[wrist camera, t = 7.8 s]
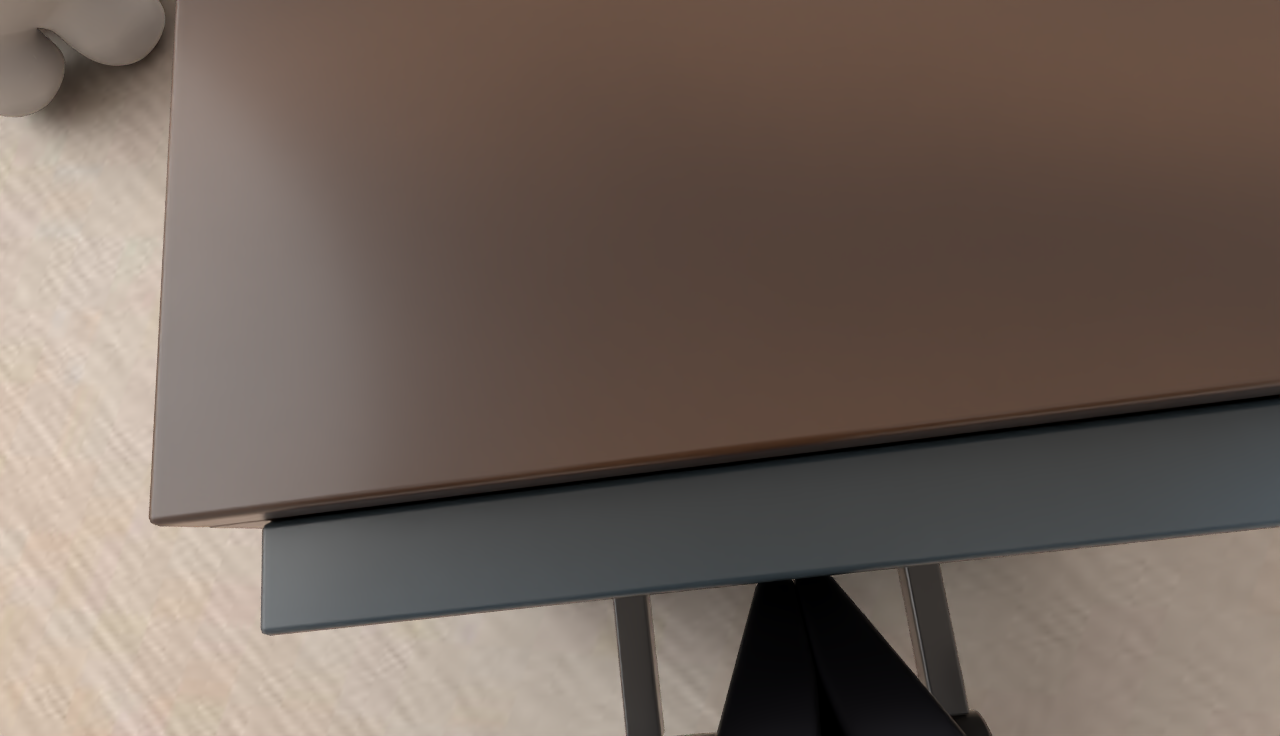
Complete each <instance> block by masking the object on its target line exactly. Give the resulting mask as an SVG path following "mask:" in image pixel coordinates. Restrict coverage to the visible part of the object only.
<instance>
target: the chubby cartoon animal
mask: <svg viewBox="0 0 1280 736" xmlns="http://www.w3.org/2000/svg"><path fill="white" fill-rule="evenodd" d="M164 26H165V12H164V9H163V7H162V5H161V3H160V1H159V0H0V116H5V117H22V116H26V115H30V114H33V113H35V112H37V111H39V110H41V109H43V108H44V107H45V106H47V105H48V104H49V103H50V102H51V101H52V99H53V98H54V97H55V95H56V93H57V92H58V90H59V88H60V86H61V83H62V80H63V76H64V71H65V60H64V57H63V54H62V52H61V51H60V50H59V48H58V47H57V46H56V45H55V44H54V43H53V42H52V41H51V40H50V39H49V38H47V37H46V36H45V35H44V34H43V33H41V32H40V31H39V30H38V29H37V28H45V29H48V30H51V31H53V32H54V33H56V34H57V35H58V36H60V37H61V38H62V39H63V40H64V41H65V42H66V43H67V44H69V45H70V46H71V47H72V48H73V49H75V50H76V51H77V52H79V53H80V54H82V55H83V56H85V57H87V58H89V59H91V60H93V61H95V62H98V63H101V64H105V65H112V66H122V65H129V64H132V63H135V62H137V61H140V60H141V59H143V58H144V57H145V56H146V55H148V54H149V53H150V52H151V50H152V49H153V48H154V47H155V45H156V44H157V42H158V41H159V39H160V37H161V35H162V33H163V29H164Z"/></svg>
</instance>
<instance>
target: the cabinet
mask: <svg viewBox="0 0 1280 736" xmlns="http://www.w3.org/2000/svg"><path fill="white" fill-rule="evenodd" d="M1279 397H1280V0H176V12H175V31H174V50H173V69H172V88H171V107H170V126H169V145H168V164H167V183H166V202H165V221H164V240H163V259H162V278H161V297H160V316H159V336H158V355H157V374H156V393H155V412H154V431H153V450H152V469H151V488H150V507H149V519H150V522H151V523H152V524H155V525H158V526H169V527H210V528H256V529H263V527H264V525H266V524H267V523H269V522H271V521H278V520H286V519H294V518H303V517H311V516H319V515H327V514H335V513H343V512H351V511H360V510H368V509H376V508H384V507H392V506H400V505H408V504H416V503H425V502H433V501H441V500H449V499H457V498H465V497H473V496H482V495H490V494H498V493H506V492H514V491H522V490H530V489H538V488H547V487H555V486H563V485H571V484H579V483H587V482H595V481H604V480H612V479H620V478H628V477H636V476H644V475H652V474H660V473H669V472H677V471H685V470H693V469H701V468H709V467H717V466H725V465H734V464H742V463H750V462H758V461H766V460H774V459H782V458H791V457H799V456H807V455H815V454H823V453H831V452H839V451H847V450H856V449H864V448H872V447H880V446H888V445H896V444H904V443H913V442H921V441H929V440H937V439H945V438H953V437H961V436H969V435H978V434H986V433H994V432H1002V431H1010V430H1018V429H1026V428H1035V427H1043V426H1051V425H1059V424H1067V423H1075V422H1083V421H1091V420H1100V419H1108V418H1116V417H1124V416H1132V415H1140V414H1148V413H1157V412H1165V411H1173V410H1181V409H1189V408H1197V407H1205V406H1213V405H1222V404H1230V403H1238V402H1246V401H1254V400H1262V399H1270V398H1279Z"/></svg>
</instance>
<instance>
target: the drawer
mask: <svg viewBox="0 0 1280 736" xmlns="http://www.w3.org/2000/svg"><path fill="white" fill-rule="evenodd" d="M1274 527H1280V397H1279V398H1270V399H1262V400H1254V401H1246V402H1238V403H1230V404H1222V405H1213V406H1205V407H1197V408H1189V409H1181V410H1173V411H1165V412H1157V413H1148V414H1140V415H1132V416H1124V417H1116V418H1108V419H1100V420H1091V421H1083V422H1075V423H1067V424H1059V425H1051V426H1043V427H1035V428H1026V429H1018V430H1010V431H1002V432H994V433H986V434H978V435H969V436H961V437H953V438H945V439H937V440H929V441H921V442H913V443H904V444H896V445H888V446H880V447H872V448H864V449H856V450H847V451H839V452H831V453H823V454H815V455H807V456H799V457H791V458H782V459H774V460H766V461H758V462H750V463H742V464H734V465H725V466H717V467H709V468H701V469H693V470H685V471H677V472H669V473H660V474H652V475H644V476H636V477H628V478H620V479H612V480H604V481H595V482H587V483H579V484H571V485H563V486H555V487H547V488H538V489H530V490H522V491H514V492H506V493H498V494H490V495H482V496H473V497H465V498H457V499H449V500H441V501H433V502H425V503H416V504H408V505H400V506H392V507H384V508H376V509H368V510H360V511H351V512H343V513H335V514H327V515H319V516H311V517H303V518H294V519H286V520H278V521H271V522H269V523H267V524H266V525H264V527H263V530H262V583H261V630H262V633H264V634H267V635H270V636H271V635H280V634H290V633H299V632H308V631H318V630H327V629H336V628H345V627H355V626H364V625H373V624H383V623H392V622H401V621H411V620H420V619H429V618H438V617H448V616H457V615H466V614H476V613H485V612H494V611H503V610H513V609H522V608H531V607H541V606H550V605H559V604H568V603H578V602H587V601H596V600H606V599H613V605H614V615H615V626H616V636H617V646H618V657H619V667H620V677H621V688H622V698H623V708H624V719H625V729H626V736H663V734H664V731H665V730H664V721H663V712H662V703H661V693H660V684H659V675H658V666H657V657H656V647H655V638H654V629H653V620H652V611H651V601H650V595H652V594H661V593H671V592H680V591H689V590H698V589H708V588H717V587H726V586H736V585H745V584H754V583H763V582H773V581H782V580H791V579H801V578H810V577H819V576H828V575H838V574H847V573H856V572H866V571H875V570H884V569H893V568H898V573H899V578H900V583H901V589H902V594H903V599H904V605H905V610H906V615H907V620H908V626H909V631H910V636H911V641H912V647H913V652H914V657H915V663H916V668H917V673H918V678H919V680H920V681H921V682H922V683H923V685H924V686H925V687H926V688H927V689H928V690H929V692H930V693H931V694H932V695H933V696H934V698H935V699H936V700H937V701H938V702H939V703H940V705H941V706H942V707H943V708H944V709H945V710H946V712H947V713H948V714H949V715H950V716H951V718H952V719H953V720H954V721H955V722H956V723H957V725H958V726H959V727H960V728H961V729H962V730H963V732H964V733H965V734H966V735H967V736H992V734H991V732H990V730H989V728H988V726H987V724H986V722H985V721H984V719H983V718H982V716H981V715H980V714H979V713H978V712H977V711H975V710H972V709H969V706H968V701H967V696H966V691H965V686H964V681H963V677H962V672H961V667H960V662H959V657H958V652H957V647H956V642H955V637H954V632H953V627H952V622H951V618H950V613H949V608H948V603H947V598H946V593H945V588H944V583H943V578H942V573H941V568H940V563H949V562H958V561H968V560H977V559H986V558H996V557H1005V556H1014V555H1023V554H1033V553H1042V552H1051V551H1061V550H1070V549H1079V548H1088V547H1098V546H1107V545H1116V544H1126V543H1135V542H1144V541H1153V540H1163V539H1172V538H1181V537H1191V536H1200V535H1209V534H1218V533H1228V532H1237V531H1246V530H1256V529H1265V528H1274ZM716 735H717V732H712V733H701V734H690V735H679V736H716Z"/></svg>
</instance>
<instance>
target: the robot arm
mask: <svg viewBox="0 0 1280 736" xmlns="http://www.w3.org/2000/svg"><path fill="white" fill-rule="evenodd" d="M716 736H967V735H966V734H965V733H964V732H963V730H962V729H961V728H960V727H959V726H958V725H957V723H956V722H955V721H954V720H953V719H952V718H951V716H950V715H949V714H948V713H947V712H946V710H945V709H944V708H943V707H942V706H941V705H940V703H939V702H938V701H937V700H936V699H935V698H934V696H933V695H932V694H931V693H930V692H929V690H928V689H927V688H926V687H925V686H924V685H923V683H922V682H921V681H920V680H919V679H918V678H917V676H916V675H915V674H914V673H913V672H912V670H911V669H910V668H909V667H908V666H907V665H906V663H905V662H904V661H903V660H902V659H901V657H900V656H899V655H898V654H897V653H896V652H895V650H894V649H893V648H892V647H891V646H890V645H889V643H888V642H887V641H886V640H885V639H884V637H883V636H882V635H881V634H880V633H879V632H878V630H877V629H876V628H875V627H874V626H873V625H872V623H871V622H870V621H869V620H868V619H867V617H866V616H865V615H864V614H863V613H862V612H861V610H860V609H859V608H858V607H857V606H856V605H855V603H854V602H853V601H852V600H851V599H850V597H849V596H848V595H847V594H846V593H845V592H844V590H843V589H842V588H841V587H840V586H839V584H838V583H837V582H836V581H835V580H834V579H833V578H832V577H831V576H830V575H828V576H819V577H810V578H801V579H795V580H794V582H793V581H792V580H782V581H773V582H763V583H758V584H757V586H756V589H755V592H754V596H753V600H752V604H751V607H750V611H749V615H748V619H747V622H746V626H745V630H744V633H743V637H742V641H741V645H740V648H739V652H738V656H737V660H736V663H735V667H734V671H733V675H732V678H731V682H730V686H729V690H728V693H727V697H726V701H725V705H724V708H723V712H722V716H721V720H720V723H719V727H718V731H717V735H716Z"/></svg>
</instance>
